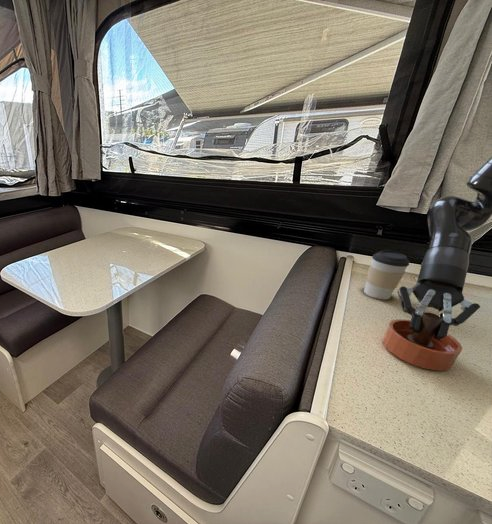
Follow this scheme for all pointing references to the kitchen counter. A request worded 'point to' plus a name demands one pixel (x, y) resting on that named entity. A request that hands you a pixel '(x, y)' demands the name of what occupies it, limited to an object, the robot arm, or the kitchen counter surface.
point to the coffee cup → (385, 273)
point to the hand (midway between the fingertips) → (426, 334)
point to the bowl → (420, 347)
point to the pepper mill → (426, 330)
